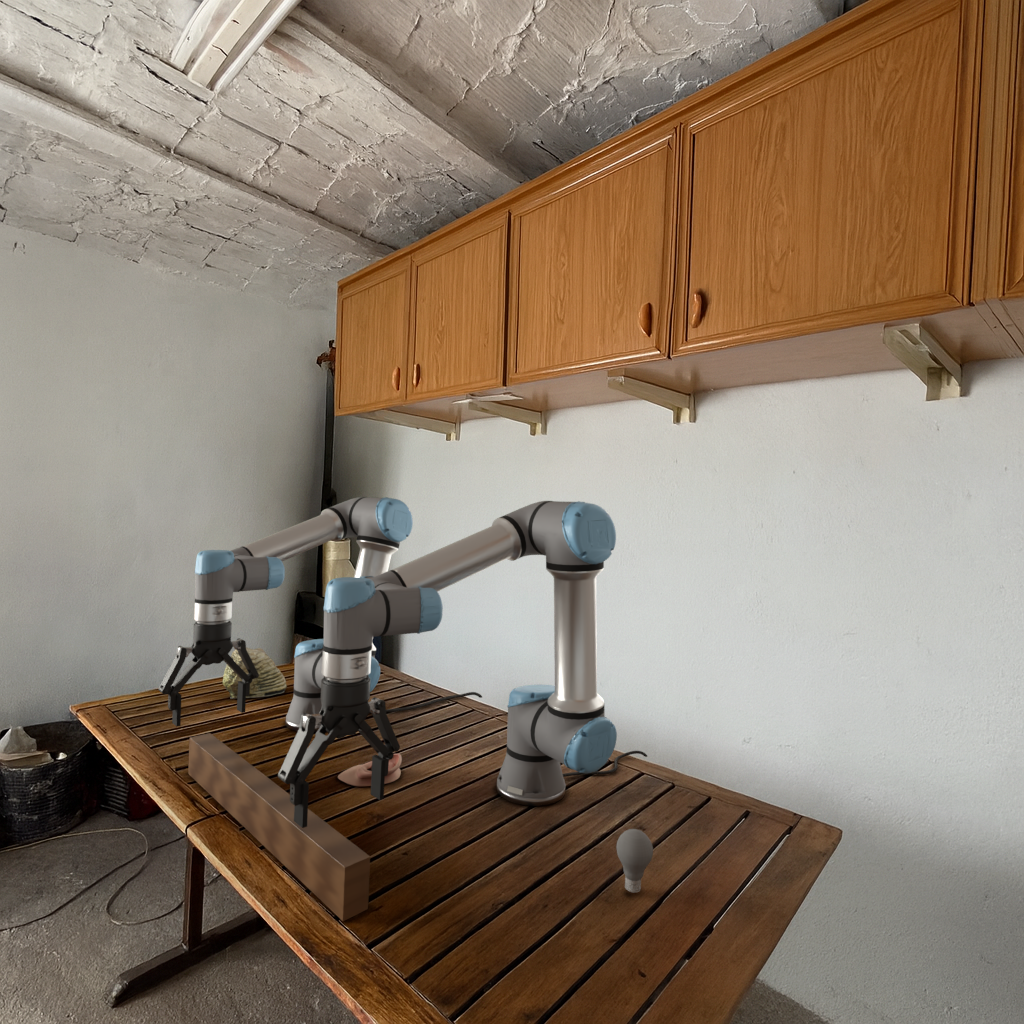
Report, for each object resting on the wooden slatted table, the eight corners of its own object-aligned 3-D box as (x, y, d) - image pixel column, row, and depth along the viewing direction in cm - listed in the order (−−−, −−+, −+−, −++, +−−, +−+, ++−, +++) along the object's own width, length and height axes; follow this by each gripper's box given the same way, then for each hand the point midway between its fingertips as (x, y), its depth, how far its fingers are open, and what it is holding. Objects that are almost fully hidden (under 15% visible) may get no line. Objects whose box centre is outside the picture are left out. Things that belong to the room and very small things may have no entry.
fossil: (218, 695, 195) (220, 647, 195) (278, 685, 208) (279, 640, 207) (228, 703, 189) (230, 653, 188) (289, 692, 201) (290, 645, 201)
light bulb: (610, 879, 108) (613, 822, 108) (644, 879, 109) (647, 822, 109) (619, 902, 102) (622, 840, 102) (655, 901, 103) (658, 840, 103)
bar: (188, 773, 142) (189, 737, 142) (208, 768, 145) (210, 732, 145) (342, 921, 95) (344, 867, 95) (368, 908, 98) (370, 856, 98)
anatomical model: (331, 765, 140) (354, 745, 151) (331, 782, 140) (354, 762, 151) (388, 772, 137) (407, 752, 148) (387, 791, 137) (406, 769, 148)
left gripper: (155, 630, 127) (152, 735, 127) (275, 617, 145) (272, 710, 145) (144, 624, 132) (141, 725, 133) (261, 612, 150) (258, 701, 150)
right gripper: (281, 697, 88) (275, 847, 89) (424, 669, 106) (418, 794, 107) (258, 684, 94) (252, 826, 94) (397, 659, 111) (392, 779, 112)
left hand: (209, 717), depth 139 cm, fingers open, 13 cm apart
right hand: (340, 809), depth 100 cm, fingers open, 13 cm apart
